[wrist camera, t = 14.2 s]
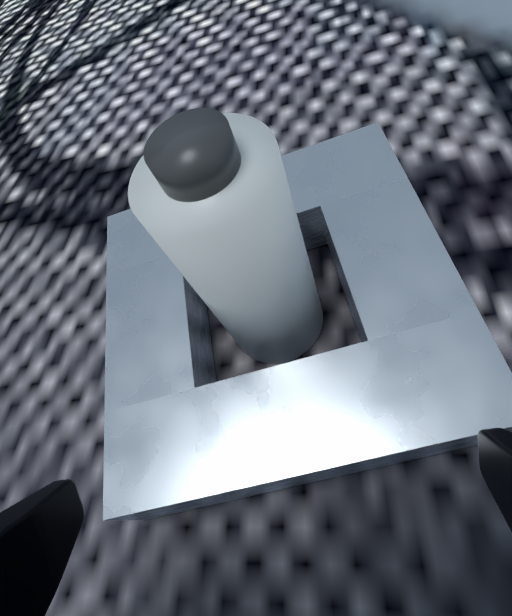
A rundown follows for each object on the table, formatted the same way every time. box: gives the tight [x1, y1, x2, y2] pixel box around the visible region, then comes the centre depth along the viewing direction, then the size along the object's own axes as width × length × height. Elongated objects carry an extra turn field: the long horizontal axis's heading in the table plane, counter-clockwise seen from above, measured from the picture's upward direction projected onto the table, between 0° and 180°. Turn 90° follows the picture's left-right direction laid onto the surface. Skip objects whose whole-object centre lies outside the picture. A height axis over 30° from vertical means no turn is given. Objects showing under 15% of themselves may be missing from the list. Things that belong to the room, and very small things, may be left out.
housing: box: [103, 122, 512, 520], centre depth 18 cm, size 15×15×3 cm
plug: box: [128, 108, 323, 364], centre depth 15 cm, size 4×4×11 cm
